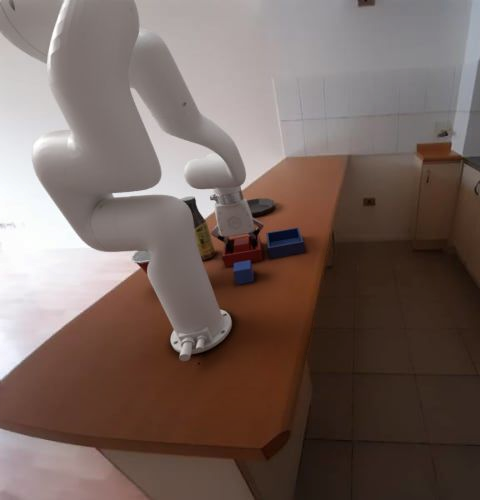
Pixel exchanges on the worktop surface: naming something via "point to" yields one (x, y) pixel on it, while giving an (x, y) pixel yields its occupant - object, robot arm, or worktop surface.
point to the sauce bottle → (200, 230)
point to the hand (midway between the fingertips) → (243, 250)
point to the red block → (242, 245)
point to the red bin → (243, 253)
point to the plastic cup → (142, 259)
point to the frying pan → (260, 206)
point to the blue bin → (285, 243)
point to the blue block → (243, 272)
